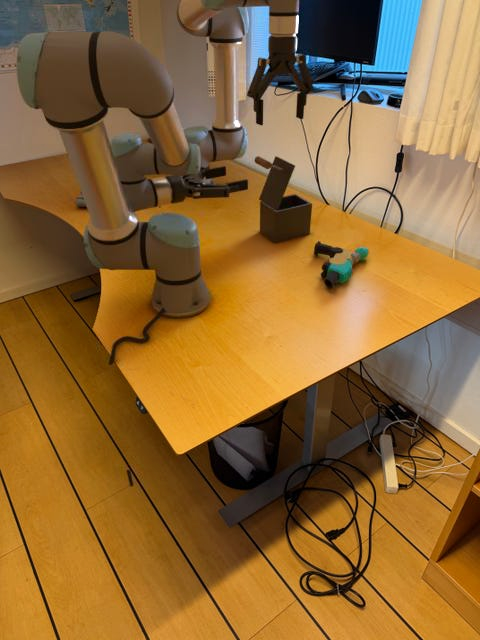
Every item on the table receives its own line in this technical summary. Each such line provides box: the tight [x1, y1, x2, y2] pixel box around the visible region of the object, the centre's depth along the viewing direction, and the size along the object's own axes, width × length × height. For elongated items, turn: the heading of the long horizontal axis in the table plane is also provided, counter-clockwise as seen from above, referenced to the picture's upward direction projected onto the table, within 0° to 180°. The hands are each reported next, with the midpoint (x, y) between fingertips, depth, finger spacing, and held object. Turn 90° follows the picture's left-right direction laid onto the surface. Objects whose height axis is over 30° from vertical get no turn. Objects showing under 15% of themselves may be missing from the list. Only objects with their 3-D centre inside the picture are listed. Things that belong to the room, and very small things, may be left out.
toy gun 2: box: [313, 240, 370, 290], centre depth 137 cm, size 4×26×15 cm
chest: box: [259, 193, 313, 244], centre depth 155 cm, size 14×10×11 cm
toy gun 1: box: [74, 191, 87, 208], centre depth 180 cm, size 4×19×15 cm
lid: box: [254, 155, 296, 210], centre depth 144 cm, size 14×10×9 cm
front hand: (236, 177), depth 139 cm, fingers open, 13 cm apart
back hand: (279, 121), depth 136 cm, fingers open, 13 cm apart
